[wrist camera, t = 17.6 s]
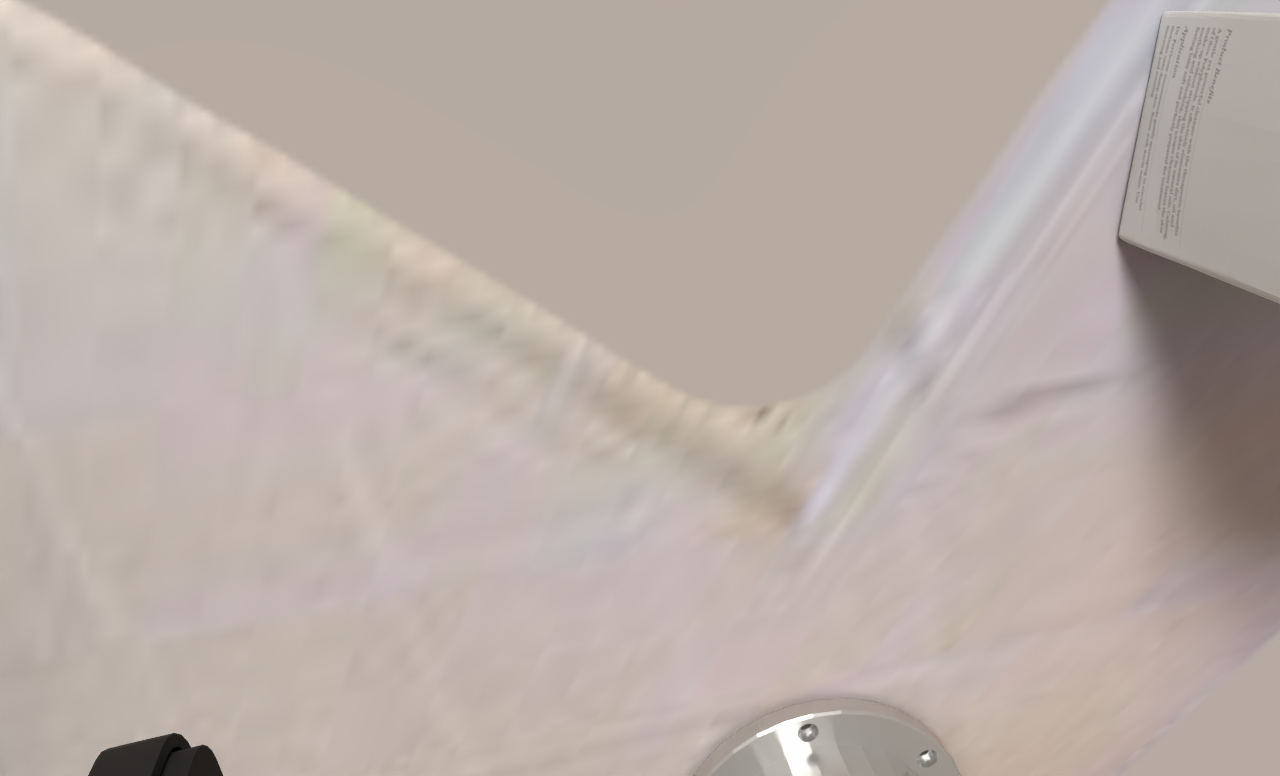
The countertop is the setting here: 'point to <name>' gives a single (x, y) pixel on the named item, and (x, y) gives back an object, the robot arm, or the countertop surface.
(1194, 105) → the skincare box
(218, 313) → the countertop surface
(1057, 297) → the countertop surface
